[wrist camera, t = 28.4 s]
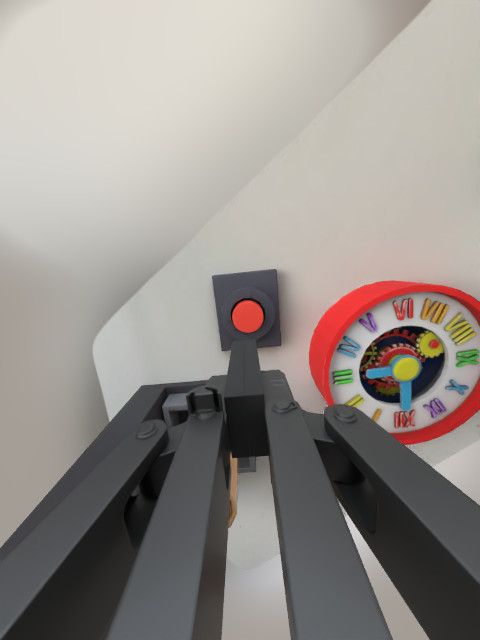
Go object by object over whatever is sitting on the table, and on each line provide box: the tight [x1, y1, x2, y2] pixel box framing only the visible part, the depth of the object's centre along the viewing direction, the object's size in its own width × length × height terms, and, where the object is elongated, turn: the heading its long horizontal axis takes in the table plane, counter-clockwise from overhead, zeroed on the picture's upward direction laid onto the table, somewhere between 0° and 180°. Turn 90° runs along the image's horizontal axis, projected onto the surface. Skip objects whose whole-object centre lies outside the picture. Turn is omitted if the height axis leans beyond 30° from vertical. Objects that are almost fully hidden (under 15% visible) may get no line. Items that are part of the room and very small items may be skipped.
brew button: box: [232, 300, 264, 333], centre depth 27 cm, size 4×4×2 cm
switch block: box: [212, 269, 281, 351], centre depth 29 cm, size 10×8×4 cm
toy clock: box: [309, 281, 480, 445], centre depth 29 cm, size 20×6×20 cm
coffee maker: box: [0, 380, 256, 640], centre depth 23 cm, size 14×16×24 cm
